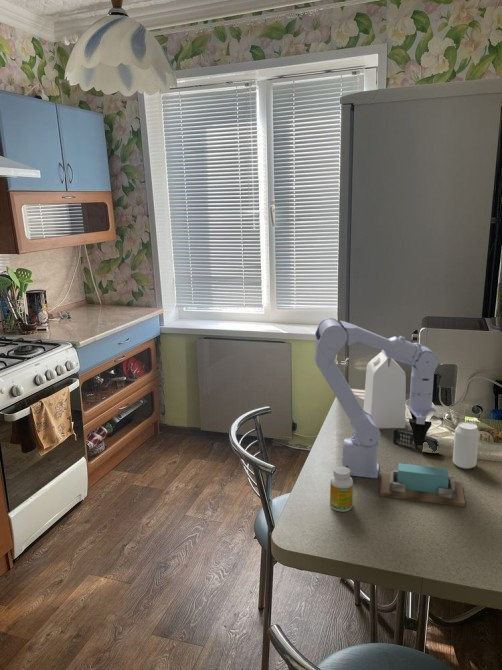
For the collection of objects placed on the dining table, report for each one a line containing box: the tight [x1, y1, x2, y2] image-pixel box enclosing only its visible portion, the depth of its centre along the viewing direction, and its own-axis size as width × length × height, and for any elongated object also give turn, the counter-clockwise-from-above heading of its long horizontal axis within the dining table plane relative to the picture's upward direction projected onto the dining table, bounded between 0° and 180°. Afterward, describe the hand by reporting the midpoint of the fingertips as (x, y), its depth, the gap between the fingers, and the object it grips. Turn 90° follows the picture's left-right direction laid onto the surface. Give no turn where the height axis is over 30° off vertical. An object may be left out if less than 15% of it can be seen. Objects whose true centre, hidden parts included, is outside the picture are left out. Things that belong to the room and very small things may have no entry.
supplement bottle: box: [329, 465, 354, 513], centre depth 126 cm, size 5×5×10 cm
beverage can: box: [452, 421, 480, 470], centre depth 144 cm, size 6×6×12 cm
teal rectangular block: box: [397, 462, 450, 494], centre depth 132 cm, size 12×4×5 cm, turn 74°
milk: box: [362, 350, 407, 429], centre depth 173 cm, size 12×12×26 cm
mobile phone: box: [393, 428, 439, 453], centre depth 155 cm, size 5×3×15 cm
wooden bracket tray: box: [379, 469, 466, 508], centre depth 132 cm, size 20×10×3 cm, turn 74°
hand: (418, 438), depth 141 cm, fingers open, 7 cm apart
